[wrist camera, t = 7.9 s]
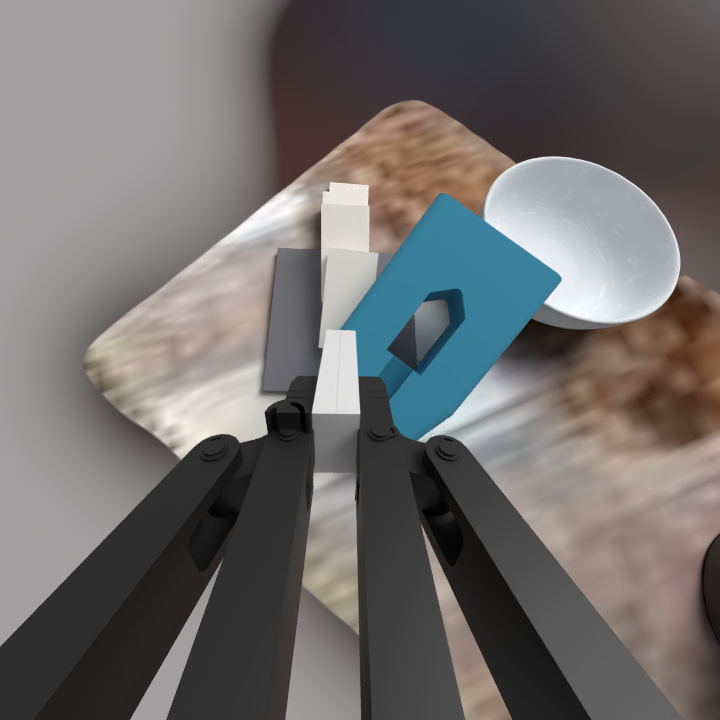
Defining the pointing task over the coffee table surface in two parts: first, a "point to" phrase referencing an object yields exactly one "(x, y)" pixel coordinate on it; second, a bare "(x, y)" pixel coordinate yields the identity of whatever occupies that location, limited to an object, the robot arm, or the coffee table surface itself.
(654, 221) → the serving bowl
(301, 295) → the domino mat
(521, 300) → the block
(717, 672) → the coffee table surface
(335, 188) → the domino
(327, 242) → the domino
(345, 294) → the domino
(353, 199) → the domino
